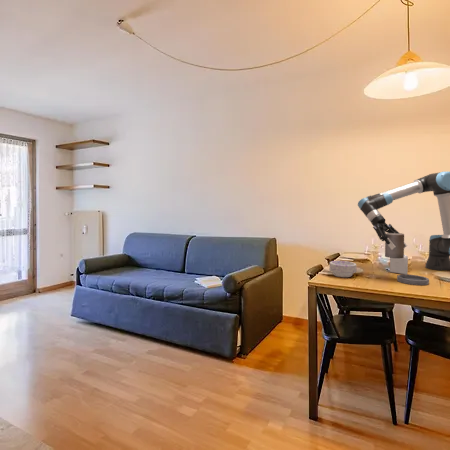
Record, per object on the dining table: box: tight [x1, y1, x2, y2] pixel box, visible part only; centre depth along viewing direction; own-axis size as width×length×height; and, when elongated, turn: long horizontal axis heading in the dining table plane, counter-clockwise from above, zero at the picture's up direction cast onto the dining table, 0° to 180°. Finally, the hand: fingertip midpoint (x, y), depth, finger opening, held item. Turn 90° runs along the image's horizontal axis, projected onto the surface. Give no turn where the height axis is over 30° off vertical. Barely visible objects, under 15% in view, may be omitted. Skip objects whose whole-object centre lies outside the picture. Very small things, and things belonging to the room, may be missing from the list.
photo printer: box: [389, 254, 409, 275], centre depth 196 cm, size 10×4×12 cm, turn 39°
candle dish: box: [396, 274, 430, 286], centre depth 174 cm, size 15×15×2 cm
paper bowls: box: [329, 260, 357, 278], centre depth 188 cm, size 15×15×8 cm
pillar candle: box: [384, 232, 405, 259], centre depth 180 cm, size 10×10×15 cm
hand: (399, 247), depth 178 cm, fingers closed on pillar candle, 9 cm apart
